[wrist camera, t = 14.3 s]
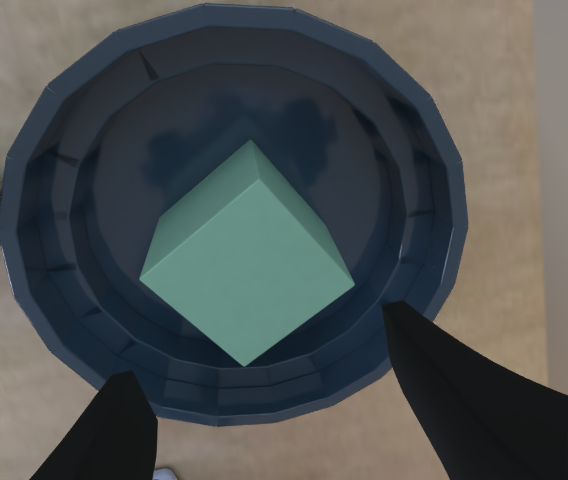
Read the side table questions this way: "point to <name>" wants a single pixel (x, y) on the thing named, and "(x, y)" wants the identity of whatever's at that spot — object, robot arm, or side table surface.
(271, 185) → the block
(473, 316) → the side table surface
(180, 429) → the side table surface
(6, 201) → the bowl
